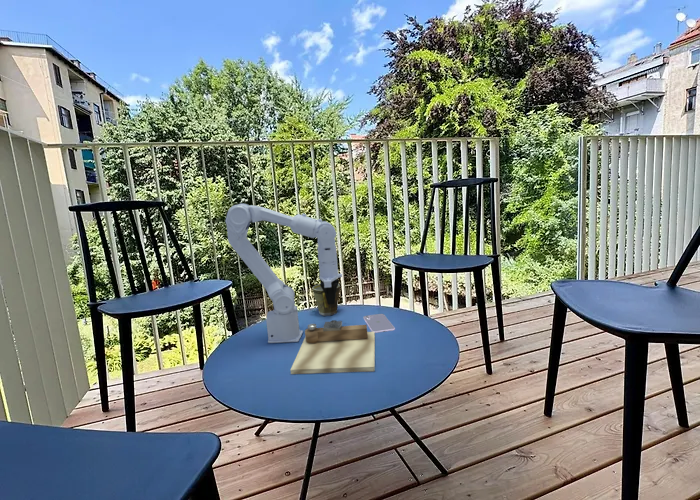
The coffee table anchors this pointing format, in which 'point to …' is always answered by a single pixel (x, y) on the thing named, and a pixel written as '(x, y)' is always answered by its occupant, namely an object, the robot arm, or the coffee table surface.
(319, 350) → the base plate
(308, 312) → the coffee table surface
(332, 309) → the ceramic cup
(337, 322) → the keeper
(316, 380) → the coffee table surface
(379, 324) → the mobile phone
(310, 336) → the link
